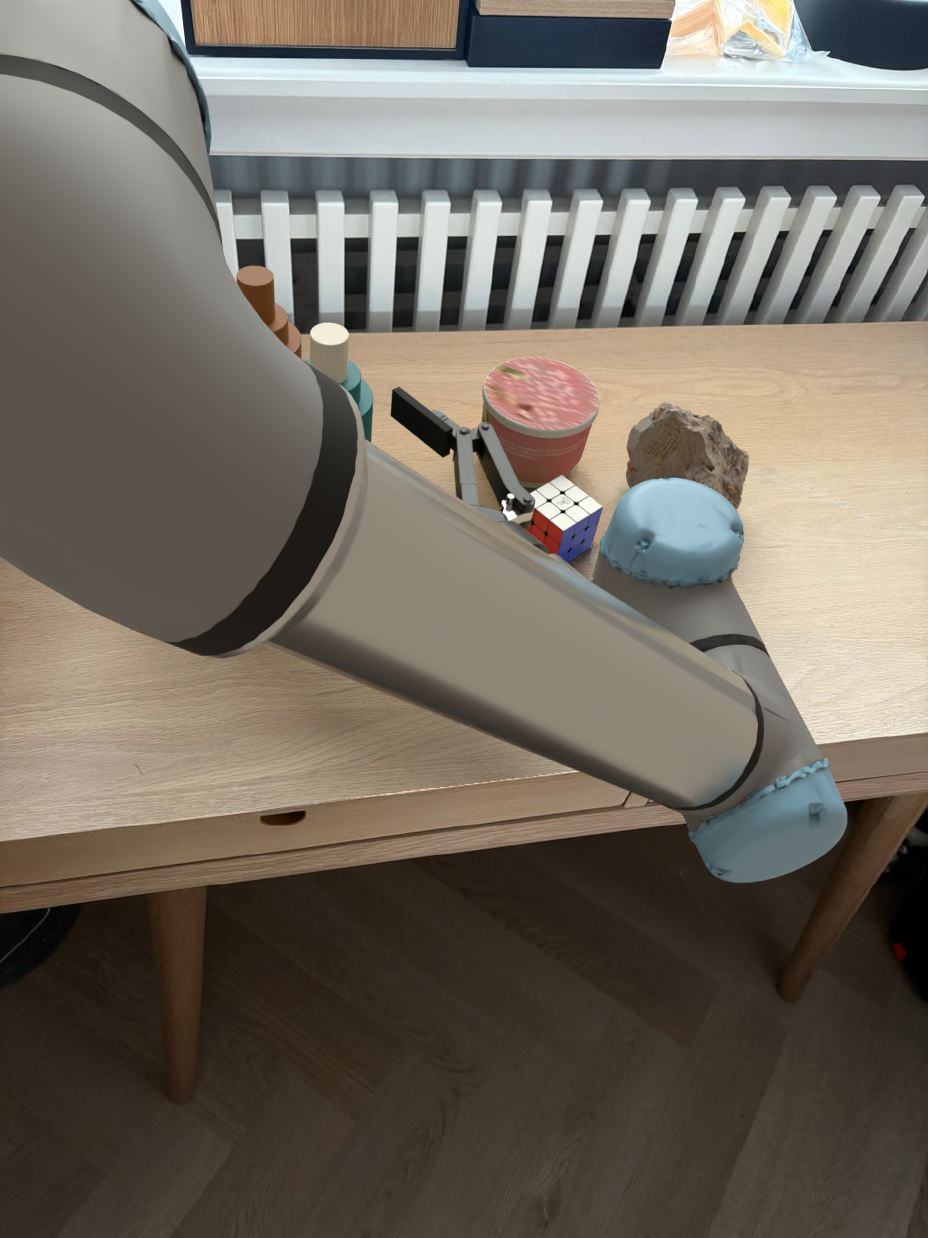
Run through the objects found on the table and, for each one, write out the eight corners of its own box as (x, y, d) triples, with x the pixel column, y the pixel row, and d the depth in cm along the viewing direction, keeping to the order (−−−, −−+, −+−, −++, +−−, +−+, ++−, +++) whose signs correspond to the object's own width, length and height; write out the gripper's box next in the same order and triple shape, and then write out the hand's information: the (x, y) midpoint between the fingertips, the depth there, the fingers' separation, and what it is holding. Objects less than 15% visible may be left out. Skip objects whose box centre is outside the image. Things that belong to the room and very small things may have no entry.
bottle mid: (256, 496, 89) (244, 311, 75) (211, 454, 92) (191, 268, 78) (318, 465, 93) (318, 282, 78) (273, 425, 95) (265, 242, 81)
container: (502, 410, 101) (514, 342, 95) (599, 450, 99) (617, 383, 93) (453, 470, 95) (462, 401, 89) (555, 514, 93) (572, 446, 86)
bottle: (321, 556, 86) (321, 373, 71) (272, 510, 88) (263, 326, 74) (383, 521, 89) (395, 340, 75) (334, 478, 92) (337, 296, 78)
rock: (700, 567, 94) (786, 493, 90) (626, 512, 87) (717, 428, 83) (661, 507, 100) (740, 436, 97) (589, 451, 93) (672, 371, 89)
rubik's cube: (512, 538, 90) (521, 497, 86) (552, 514, 92) (562, 473, 89) (552, 572, 88) (562, 531, 84) (592, 547, 90) (604, 506, 87)
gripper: (381, 714, 69) (199, 534, 78) (620, 550, 82) (441, 411, 90) (386, 645, 63) (190, 460, 72) (643, 480, 76) (449, 339, 85)
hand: (329, 432), depth 81 cm, fingers open, 13 cm apart
